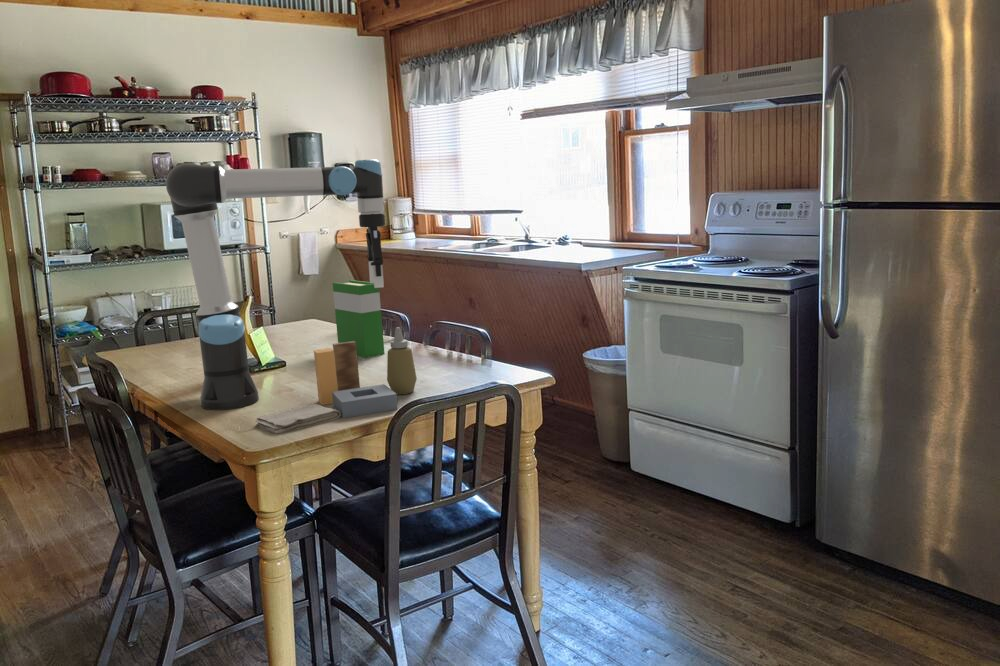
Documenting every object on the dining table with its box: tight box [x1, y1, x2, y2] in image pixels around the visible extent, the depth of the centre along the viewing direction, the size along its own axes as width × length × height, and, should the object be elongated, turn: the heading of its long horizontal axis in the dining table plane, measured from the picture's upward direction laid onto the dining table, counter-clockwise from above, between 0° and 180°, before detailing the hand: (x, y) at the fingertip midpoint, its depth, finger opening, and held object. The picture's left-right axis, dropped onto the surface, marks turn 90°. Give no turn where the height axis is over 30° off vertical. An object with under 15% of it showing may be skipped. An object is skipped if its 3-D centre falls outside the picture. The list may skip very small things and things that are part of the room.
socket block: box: [332, 383, 399, 419], centre depth 216 cm, size 14×12×4 cm
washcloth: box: [255, 403, 341, 434], centre depth 207 cm, size 12×18×3 cm, turn 133°
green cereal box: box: [332, 279, 385, 359], centre depth 285 cm, size 18×7×24 cm, turn 40°
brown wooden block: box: [332, 341, 361, 391], centre depth 233 cm, size 6×2×14 cm, turn 112°
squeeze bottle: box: [386, 326, 417, 395], centre depth 229 cm, size 8×8×18 cm
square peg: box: [313, 347, 338, 406], centre depth 224 cm, size 4×4×14 cm
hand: (376, 285), depth 251 cm, fingers open, 13 cm apart
